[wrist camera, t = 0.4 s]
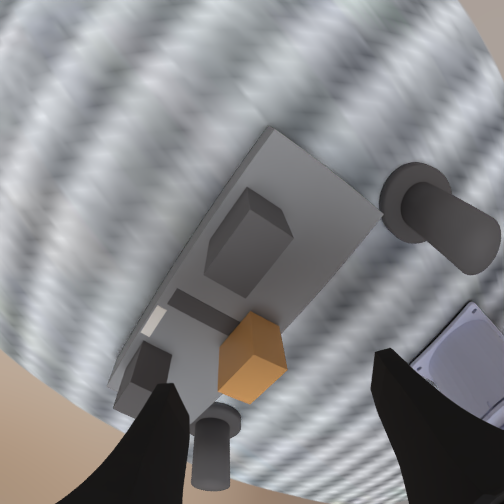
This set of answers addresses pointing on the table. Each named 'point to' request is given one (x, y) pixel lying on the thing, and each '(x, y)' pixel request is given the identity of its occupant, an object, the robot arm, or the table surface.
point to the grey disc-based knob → (438, 217)
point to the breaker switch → (251, 359)
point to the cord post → (213, 446)
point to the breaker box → (242, 270)
